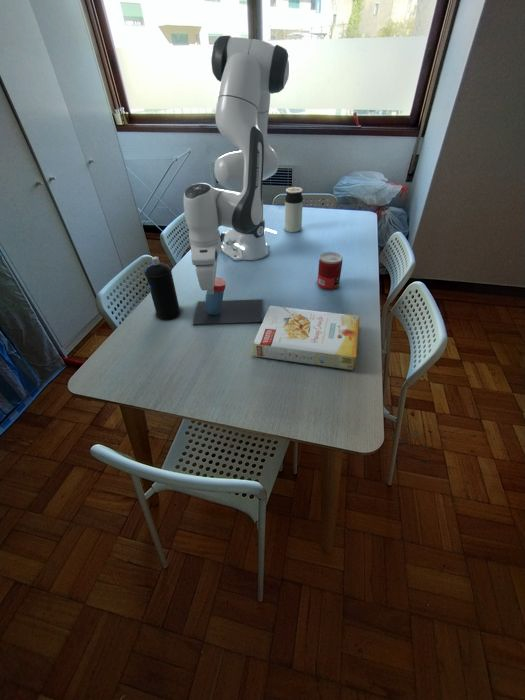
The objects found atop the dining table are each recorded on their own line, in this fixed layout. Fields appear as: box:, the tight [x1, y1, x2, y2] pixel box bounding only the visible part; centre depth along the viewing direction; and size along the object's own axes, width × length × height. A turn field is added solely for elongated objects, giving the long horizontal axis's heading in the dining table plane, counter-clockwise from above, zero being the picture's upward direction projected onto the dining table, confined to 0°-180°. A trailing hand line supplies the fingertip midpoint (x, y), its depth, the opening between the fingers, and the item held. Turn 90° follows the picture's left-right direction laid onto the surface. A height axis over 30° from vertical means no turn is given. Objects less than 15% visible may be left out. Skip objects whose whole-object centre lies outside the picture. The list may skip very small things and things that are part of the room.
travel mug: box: [284, 186, 304, 233], centre depth 162 cm, size 8×8×18 cm
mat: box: [192, 299, 263, 326], centre depth 116 cm, size 22×13×1 cm, turn 91°
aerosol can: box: [143, 256, 182, 321], centre depth 111 cm, size 8×8×20 cm
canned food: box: [317, 251, 343, 291], centre depth 124 cm, size 8×8×11 cm
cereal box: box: [253, 305, 361, 371], centre depth 102 cm, size 20×6×28 cm
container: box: [204, 276, 227, 315], centre depth 112 cm, size 6×6×11 cm
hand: (212, 287), depth 110 cm, fingers closed on container, 5 cm apart
